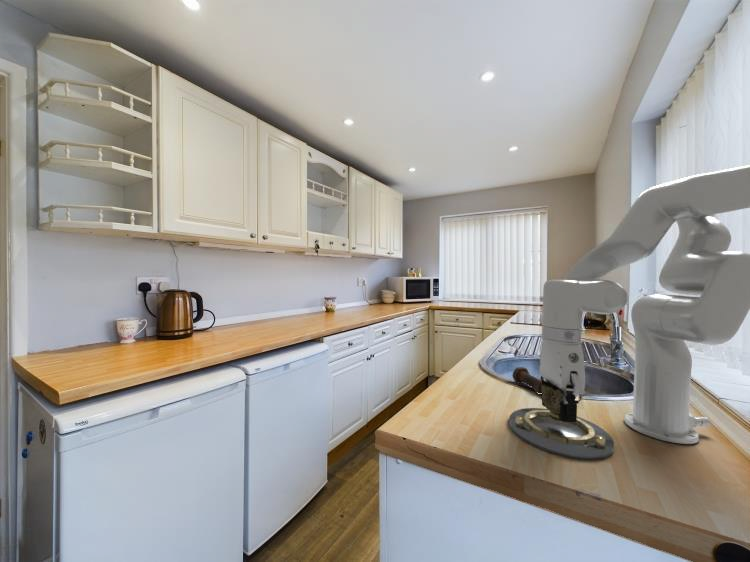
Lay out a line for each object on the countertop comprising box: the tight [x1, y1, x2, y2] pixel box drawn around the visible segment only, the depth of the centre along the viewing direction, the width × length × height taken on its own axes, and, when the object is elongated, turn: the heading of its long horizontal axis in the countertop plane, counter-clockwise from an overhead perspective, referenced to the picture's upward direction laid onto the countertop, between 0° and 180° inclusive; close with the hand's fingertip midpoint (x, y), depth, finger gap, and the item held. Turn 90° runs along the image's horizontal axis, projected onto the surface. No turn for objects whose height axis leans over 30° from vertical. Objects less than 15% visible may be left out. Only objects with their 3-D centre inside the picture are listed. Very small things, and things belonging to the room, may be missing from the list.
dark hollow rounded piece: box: [541, 379, 573, 421], centre depth 68 cm, size 8×7×8 cm
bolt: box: [511, 366, 542, 393], centre depth 94 cm, size 6×5×15 cm
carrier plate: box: [508, 407, 615, 461], centre depth 68 cm, size 20×20×3 cm
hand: (558, 412), depth 68 cm, fingers closed on dark hollow rounded piece, 6 cm apart
